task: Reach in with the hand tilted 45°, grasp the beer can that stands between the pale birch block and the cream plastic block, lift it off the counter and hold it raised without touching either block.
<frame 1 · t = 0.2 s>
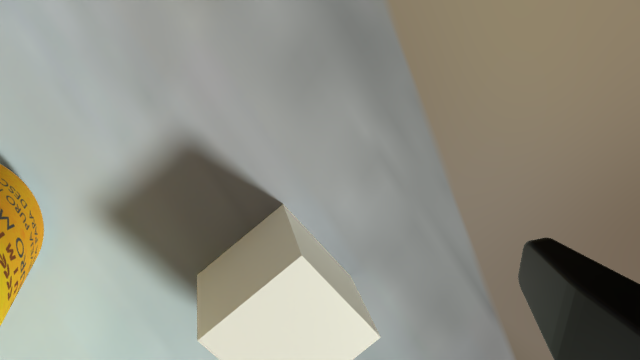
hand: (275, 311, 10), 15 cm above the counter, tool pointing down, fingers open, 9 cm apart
cream plastic block: (275, 274, 27), on the counter
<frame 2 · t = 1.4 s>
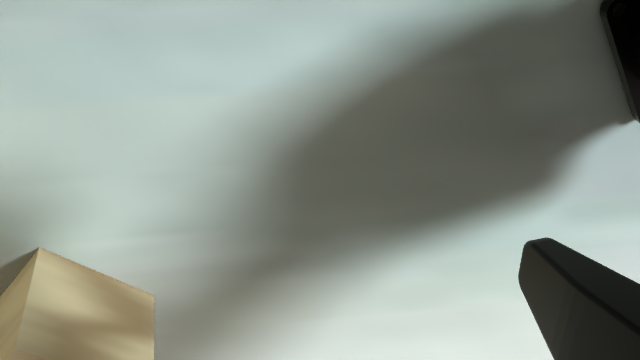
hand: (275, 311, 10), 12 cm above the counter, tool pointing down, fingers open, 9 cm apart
birch block: (66, 310, 24), on the counter
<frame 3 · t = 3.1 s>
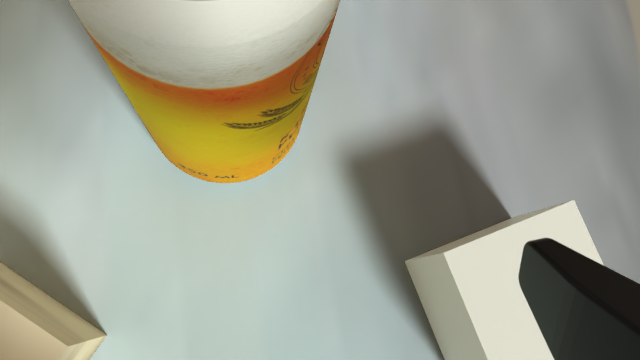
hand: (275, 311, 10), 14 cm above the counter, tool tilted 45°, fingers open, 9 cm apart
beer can: (226, 115, 25), on the counter
cream plastic block: (482, 296, 24), on the counter
birch block: (8, 355, 22), on the counter
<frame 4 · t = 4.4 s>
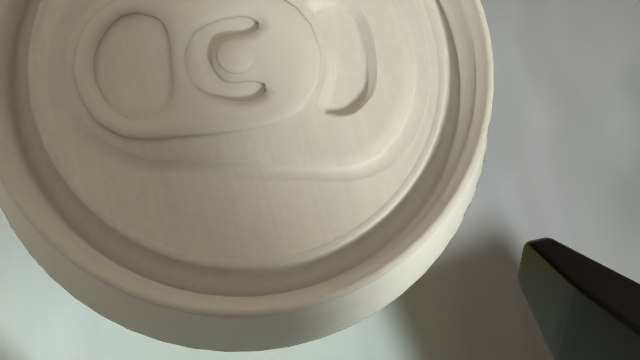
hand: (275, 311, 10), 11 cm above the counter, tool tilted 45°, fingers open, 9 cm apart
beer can: (248, 227, 21), on the counter
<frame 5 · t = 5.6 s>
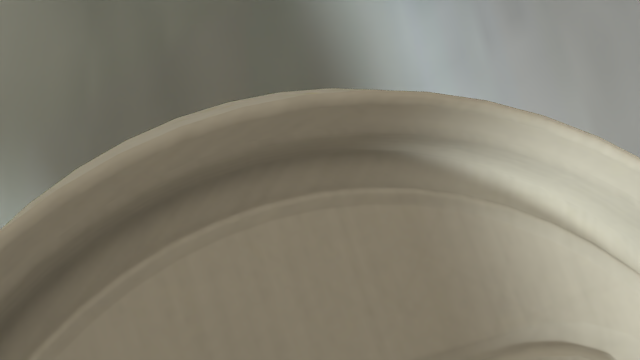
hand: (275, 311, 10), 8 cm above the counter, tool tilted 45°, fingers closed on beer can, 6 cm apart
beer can: (272, 351, 17), on the counter, touching gripper
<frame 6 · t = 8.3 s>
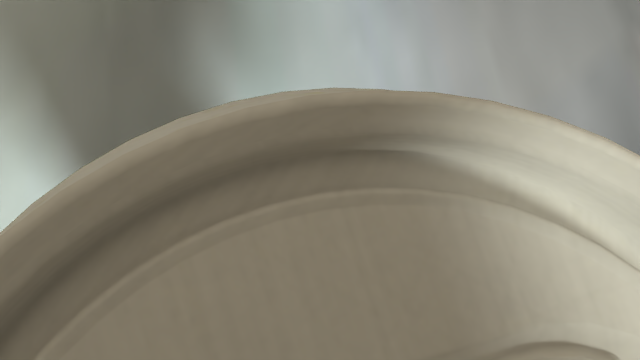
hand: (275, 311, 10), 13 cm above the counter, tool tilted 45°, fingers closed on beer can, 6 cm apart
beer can: (273, 349, 17), point 5 cm above the counter, touching gripper
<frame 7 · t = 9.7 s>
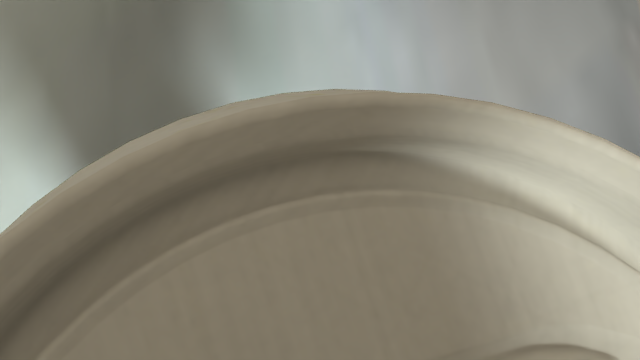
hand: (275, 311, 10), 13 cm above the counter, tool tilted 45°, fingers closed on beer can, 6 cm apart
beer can: (273, 350, 17), point 6 cm above the counter, touching gripper
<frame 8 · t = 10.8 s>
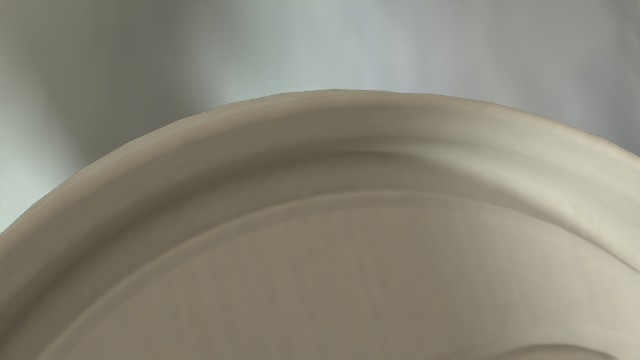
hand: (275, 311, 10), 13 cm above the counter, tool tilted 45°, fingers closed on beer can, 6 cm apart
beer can: (273, 350, 17), point 6 cm above the counter, touching gripper
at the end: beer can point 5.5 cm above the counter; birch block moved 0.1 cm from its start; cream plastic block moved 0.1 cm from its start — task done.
